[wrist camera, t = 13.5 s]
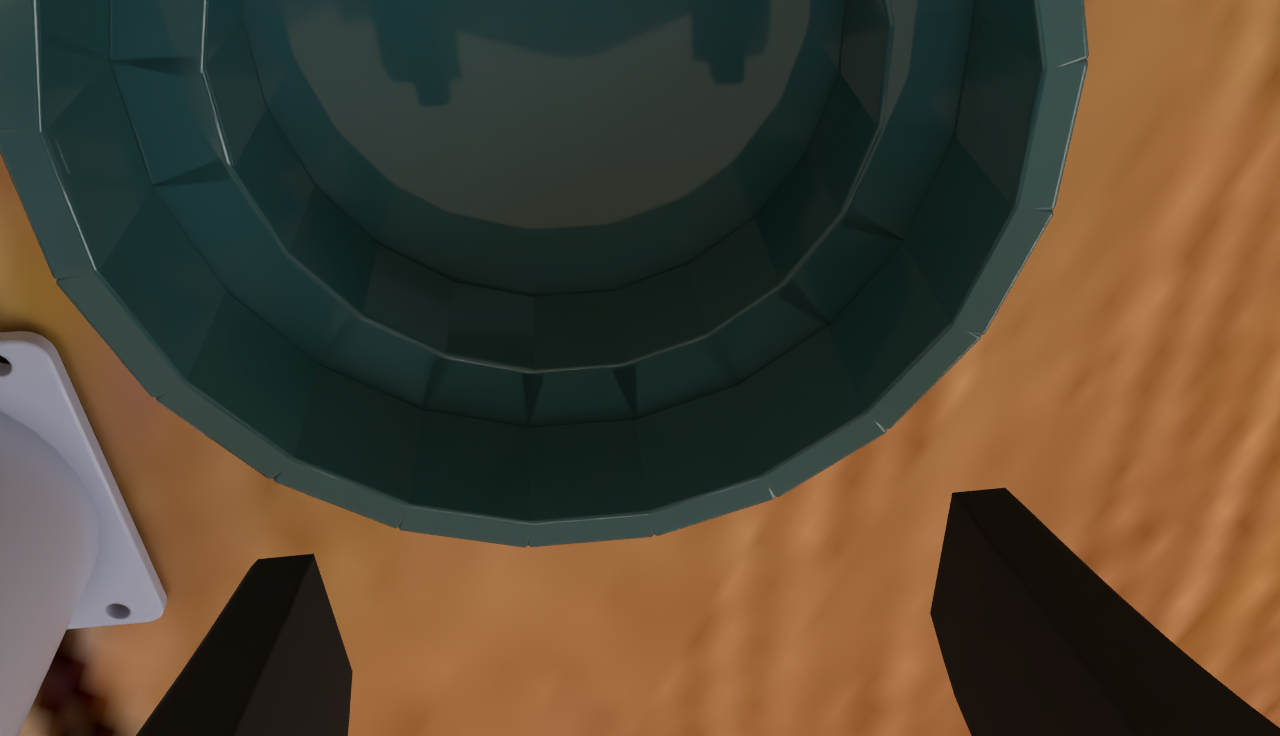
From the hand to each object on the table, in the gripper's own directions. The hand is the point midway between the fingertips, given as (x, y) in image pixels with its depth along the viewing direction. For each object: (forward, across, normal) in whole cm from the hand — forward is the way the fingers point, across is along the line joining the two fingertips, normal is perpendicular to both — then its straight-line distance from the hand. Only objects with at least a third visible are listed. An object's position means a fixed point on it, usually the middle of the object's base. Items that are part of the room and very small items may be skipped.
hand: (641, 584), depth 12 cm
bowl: (+9, 0, -3) cm, 10 cm away
